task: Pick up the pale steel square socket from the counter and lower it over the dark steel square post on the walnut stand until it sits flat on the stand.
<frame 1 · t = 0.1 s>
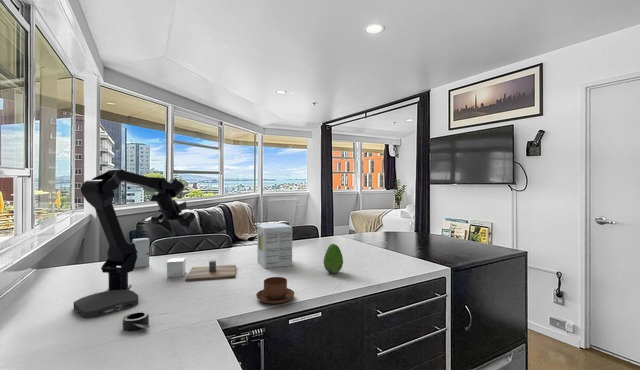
hand: (180, 232, 139), 15 cm above the worktop, tool tilted 30°, fingers open, 9 cm apart
duct tape: (136, 327, 81), on the worktop
post stand: (212, 273, 128), on the worktop
steel socket: (176, 274, 126), on the worktop
skincare box: (141, 266, 139), on the worktop
supplement box: (274, 263, 144), on the worktop
cup and saucer: (275, 300, 100), on the worktop
avocado: (333, 273, 128), on the worktop
media streaming box: (106, 307, 95), on the worktop
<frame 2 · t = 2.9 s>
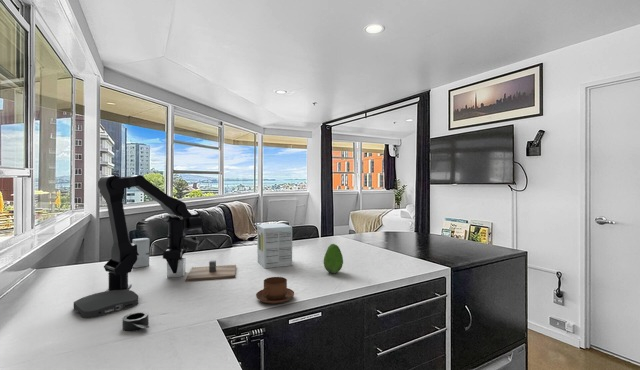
hand: (176, 270, 126), 2 cm above the worktop, tool pointing down, fingers closed on steel socket, 6 cm apart
steel socket: (176, 274, 126), on the worktop, touching gripper
everything else where it was.
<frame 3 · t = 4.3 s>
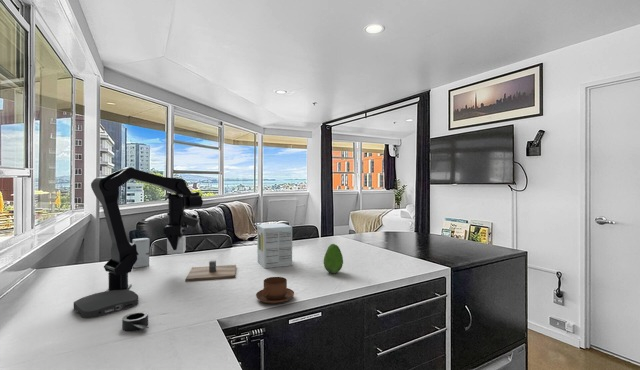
hand: (176, 248, 126), 11 cm above the worktop, tool pointing down, fingers closed on steel socket, 6 cm apart
steel socket: (176, 252, 126), point 9 cm above the worktop, touching gripper
everything else where it was.
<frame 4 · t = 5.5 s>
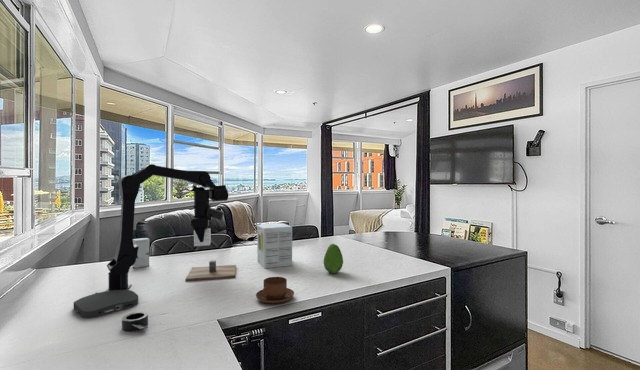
hand: (202, 240, 127), 13 cm above the worktop, tool pointing down, fingers closed on steel socket, 6 cm apart
steel socket: (202, 244, 127), point 12 cm above the worktop, touching gripper
everything else where it was.
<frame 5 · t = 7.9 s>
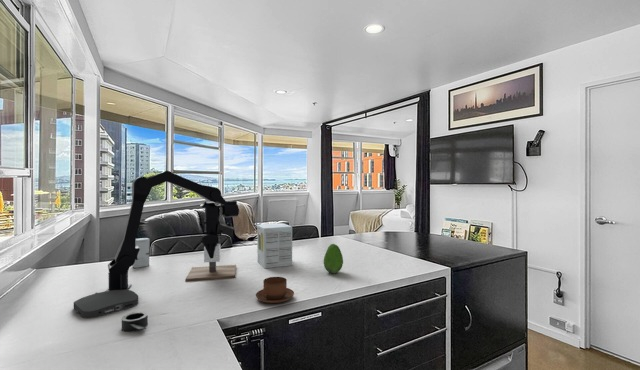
hand: (212, 256, 128), 7 cm above the worktop, tool pointing down, fingers closed on steel socket, 6 cm apart
steel socket: (212, 260, 128), point 5 cm above the worktop, touching gripper
everything else where it was.
when the fingers open (3 cm above the worktop, at t = 9.9 s): steel socket stays where it is, resting on post stand.
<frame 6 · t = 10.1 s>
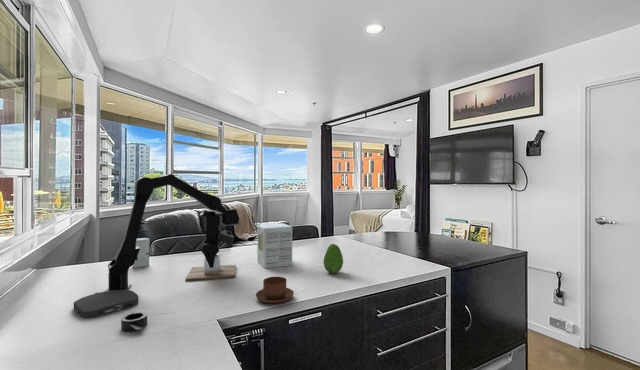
hand: (212, 265, 128), 3 cm above the worktop, tool pointing down, fingers open, 8 cm apart
steel socket: (212, 271, 128), point 1 cm above the worktop, touching post stand
everything else where it was.
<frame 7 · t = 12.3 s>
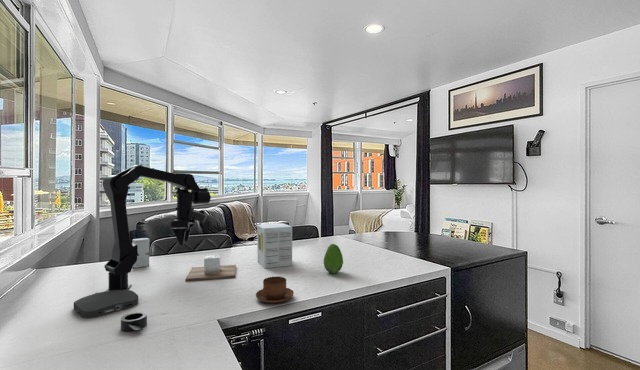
hand: (184, 242, 128), 13 cm above the worktop, tool pointing down, fingers open, 9 cm apart
nothing on the worktop moved.
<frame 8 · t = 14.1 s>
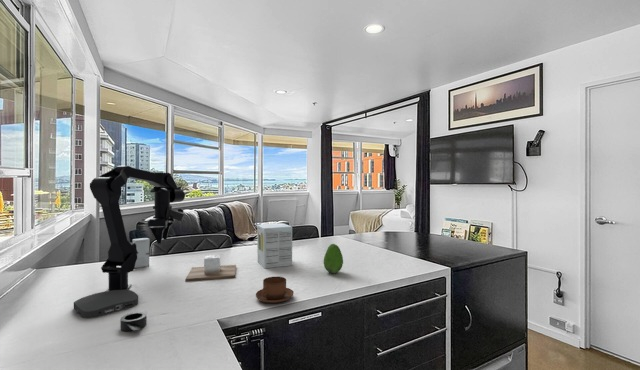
hand: (162, 241, 129), 13 cm above the worktop, tool pointing down, fingers open, 9 cm apart
at the end: steel socket 0.0 cm off-centre on the post stand, point 1.0 cm above the post stand's base; steel socket tilted 0°; the gripper is holding nothing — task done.
